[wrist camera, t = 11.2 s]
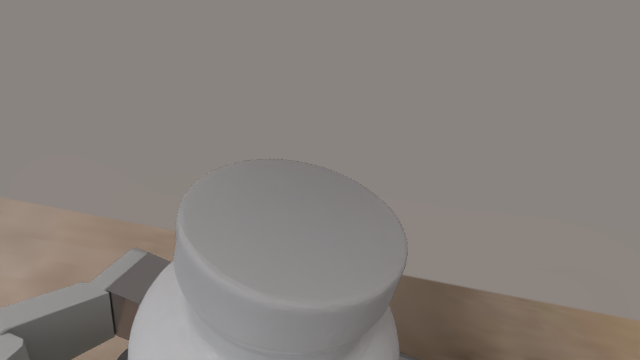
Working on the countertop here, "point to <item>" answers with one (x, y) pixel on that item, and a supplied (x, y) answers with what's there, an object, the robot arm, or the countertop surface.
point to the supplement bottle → (276, 270)
